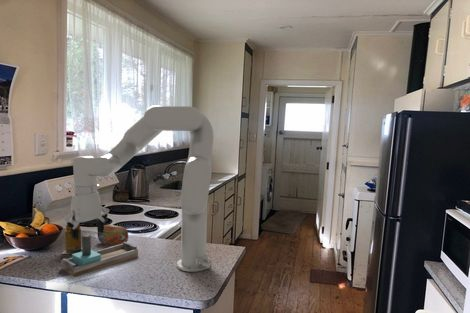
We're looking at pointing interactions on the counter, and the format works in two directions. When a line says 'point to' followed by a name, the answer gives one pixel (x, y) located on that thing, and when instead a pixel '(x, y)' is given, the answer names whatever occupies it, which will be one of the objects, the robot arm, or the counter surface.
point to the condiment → (72, 241)
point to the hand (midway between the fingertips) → (88, 235)
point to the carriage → (85, 253)
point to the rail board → (102, 259)
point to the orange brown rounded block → (113, 235)
